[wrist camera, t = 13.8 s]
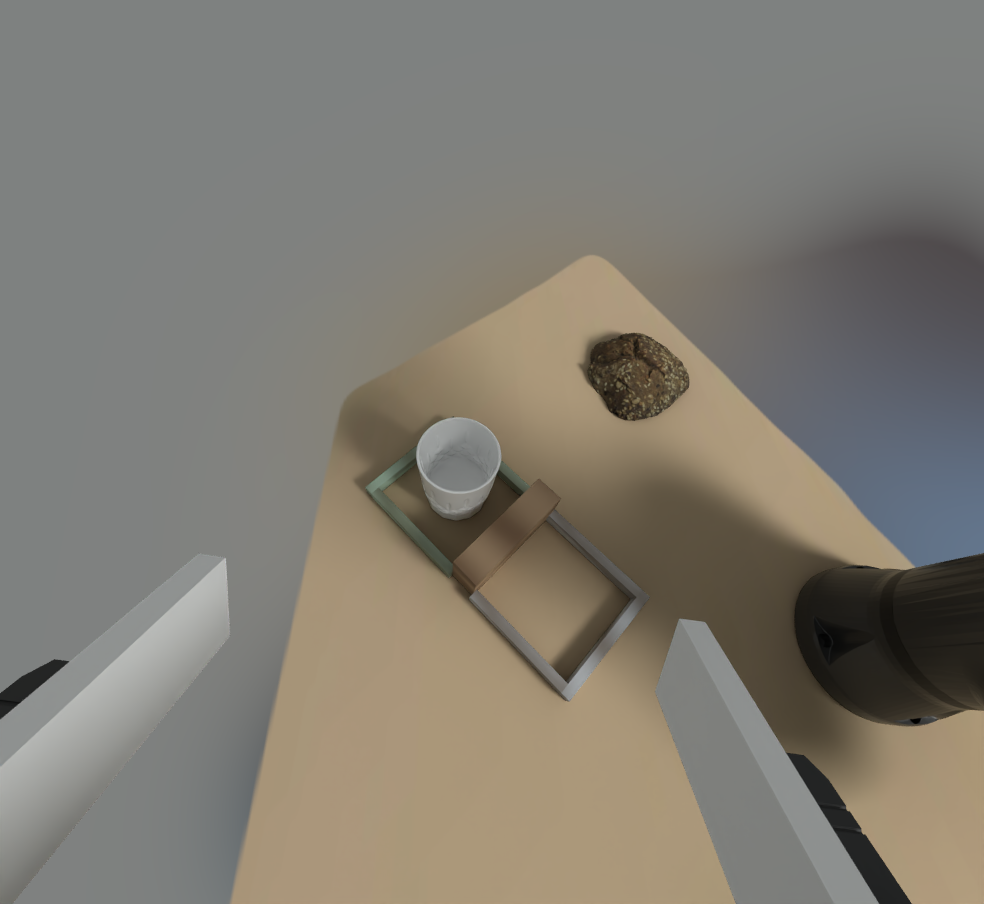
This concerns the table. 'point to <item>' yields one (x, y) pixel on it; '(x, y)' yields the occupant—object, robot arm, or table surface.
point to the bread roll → (637, 376)
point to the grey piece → (501, 546)
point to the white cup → (458, 466)
